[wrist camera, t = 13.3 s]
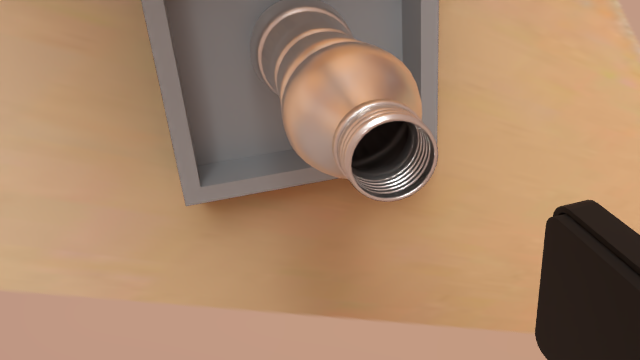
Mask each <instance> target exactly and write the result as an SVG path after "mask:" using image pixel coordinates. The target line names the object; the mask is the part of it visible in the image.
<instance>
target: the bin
mask: <svg viewBox="0 0 640 360" xmlns="http://www.w3.org/2000/svg"><path fill="white" fill-rule="evenodd" d="M279 1H282V0H141V2H142V7H143V12H144V16H145V21H146V25H147V30H148V34H149V39H150V44H151V48H152V53H153V57H154V62H155V67H156V71H157V76H158V80H159V85H160V90H161V94H162V99H163V103H164V108H165V113H166V117H167V122H168V126H169V131H170V136H171V140H172V145H173V149H174V154H175V159H176V163H177V168H178V172H179V177H180V182H181V186H182V191H183V195H184V200H185V204H186V206H190V205H195V204H201V203H206V202H212V201H217V200H222V199H228V198H233V197H239V196H244V195H250V194H255V193H260V192H266V191H271V190H277V189H282V188H288V187H293V186H299V185H304V184H309V183H315V182H320V181H326V180H331V179H337V177H333V176H331V175H328V174H325V173H323V172H321V171H319V170H317V169H316V168H314V167H312V166H311V165H309V164H307V163H306V162H305V161H304V160H303V159H302V158H301V157H299V156H298V155H297V153H296V152H295V150H294V149H293V148H292V146H291V145H290V142H289V140H288V138H287V135H286V133H285V129H284V126H283V120H282V115H281V101H280V98H279V95H277V94H276V93H274V92H273V91H272V90H271V89H269V88H268V87H267V86H266V85H265V84H264V83H263V82H262V81H261V80H260V78H259V77H258V75H257V74H256V72H255V70H254V67H253V65H252V62H251V57H250V41H251V36H252V31H253V28H254V26H255V24H256V22H257V20H258V19H259V17H260V16H261V14H262V13H263V12H264V11H265V10H267V9H268V8H269V7H270V6H272V5H273V4H275V3H277V2H279ZM319 1H322V2H324V3H326V4H328V5H330V6H331V7H332V8H333V9H335V10H336V11H337V12H338V13H339V14H340V15H341V16H342V18H343V19H344V21H345V22H346V24H347V26H348V28H349V29H350V31H351V33H352V36H353V38H355V39H356V40H358V41H361V42H365V43H368V44H371V45H375V46H377V47H379V48H381V49H383V50H385V51H387V52H389V53H391V54H392V55H394V56H395V57H396V58H398V59H399V60H400V61H402V62H403V63H404V65H405V66H406V67H407V68H408V69H409V71H410V72H411V74H412V76H413V78H414V80H415V81H416V84H417V87H418V91H419V95H420V99H421V102H422V119H421V120H422V122H423V123H424V124H425V125H426V126H427V127H428V129H429V130H430V131H431V133H432V135H433V136H434V138H435V140H436V144H437V111H438V24H439V0H319Z"/></svg>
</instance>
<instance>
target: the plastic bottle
mask: <svg viewBox="0 0 640 360" xmlns="http://www.w3.org/2000/svg"><path fill="white" fill-rule="evenodd" d="M250 57H251V62H252V65H253V67H254V70H255V72H256V74H257V75H258V77H259V78H260V80H261V81H262V82H263V83H264V84H265V85H266V86H267V87H268V88H269V89H271V90H272V91H273V92H274V93H276V94H277V95H279V98H280V101H281V115H282V120H283V126H284V129H285V133H286V135H287V138H288V140H289V142H290V145H291V146H292V148H293V149H294V150H295V152H296V153H297V155H298V156H299V157H301V158H302V159H303V160H304V161H305V162H306V163H307V164H309V165H311V166H312V167H314V168H316V169H317V170H319V171H321V172H323V173H325V174H328V175H331V176H333V177H337V178H344V179H348V180H349V181H350V182H351V183H352V185H353V186H354V187H355V188H356V189H357V190H358V191H359V192H360V193H362V194H363V195H365V196H366V197H368V198H371V199H374V200H377V201H384V202H387V201H396V200H401V199H404V198H406V197H409V196H411V195H412V194H414V193H416V192H417V191H419V190H420V189H421V188H422V187H423V186H424V185H425V184H426V183H427V182H428V181H429V179H430V178H431V176H432V174H433V173H434V170H435V167H436V165H437V159H438V147H437V144H436V140H435V138H434V136H433V135H432V133H431V131H430V130H429V129H428V127H427V126H426V125H425V124H424V123H423V122H422V120H421V119H422V102H421V99H420V95H419V91H418V87H417V84H416V81H415V80H414V78H413V76H412V74H411V72H410V71H409V69H408V68H407V67H406V66H405V65H404V63H403V62H402V61H400V60H399V59H398V58H396V57H395V56H394V55H392V54H391V53H389V52H387V51H385V50H383V49H381V48H379V47H377V46H375V45H371V44H368V43H365V42H361V41H358V40H356V39H355V38H353V36H352V33H351V31H350V29H349V28H348V26H347V24H346V22H345V21H344V19H343V18H342V16H341V15H340V14H339V13H338V12H337V11H336V10H335V9H333V8H332V7H331V6H330V5H328V4H326V3H324V2H322V1H319V0H282V1H279V2H277V3H275V4H273V5H272V6H270V7H269V8H268V9H267V10H265V11H264V12H263V13H262V14H261V16H260V17H259V19H258V20H257V22H256V24H255V26H254V28H253V31H252V36H251V41H250Z"/></svg>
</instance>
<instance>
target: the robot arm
mask: <svg viewBox="0 0 640 360" xmlns="http://www.w3.org/2000/svg"><path fill="white" fill-rule="evenodd" d="M535 336H536V341H537V344H538V346H539V348H540V350H541V352H542V353H543V354H544V356H545V357H546V358H547V360H640V235H639V234H637V233H636V232H635V231H634V230H632V229H631V228H630V227H628V226H627V225H626V224H624V223H623V222H622V221H620V220H619V219H618V218H616V217H615V216H614V215H613V214H611V213H610V212H609V211H607V210H606V209H605V208H603V207H602V206H601V205H599V204H598V203H596V202H595V201H593V200H585V201H581V202H577V203H573V204H568V205H564V206H560V207H558V208H556V210H555V211H554V214H553V217H551V218H549V219H548V220H547V223H546V230H545V239H544V249H543V259H542V269H541V279H540V289H539V299H538V309H537V319H536V328H535Z"/></svg>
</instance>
